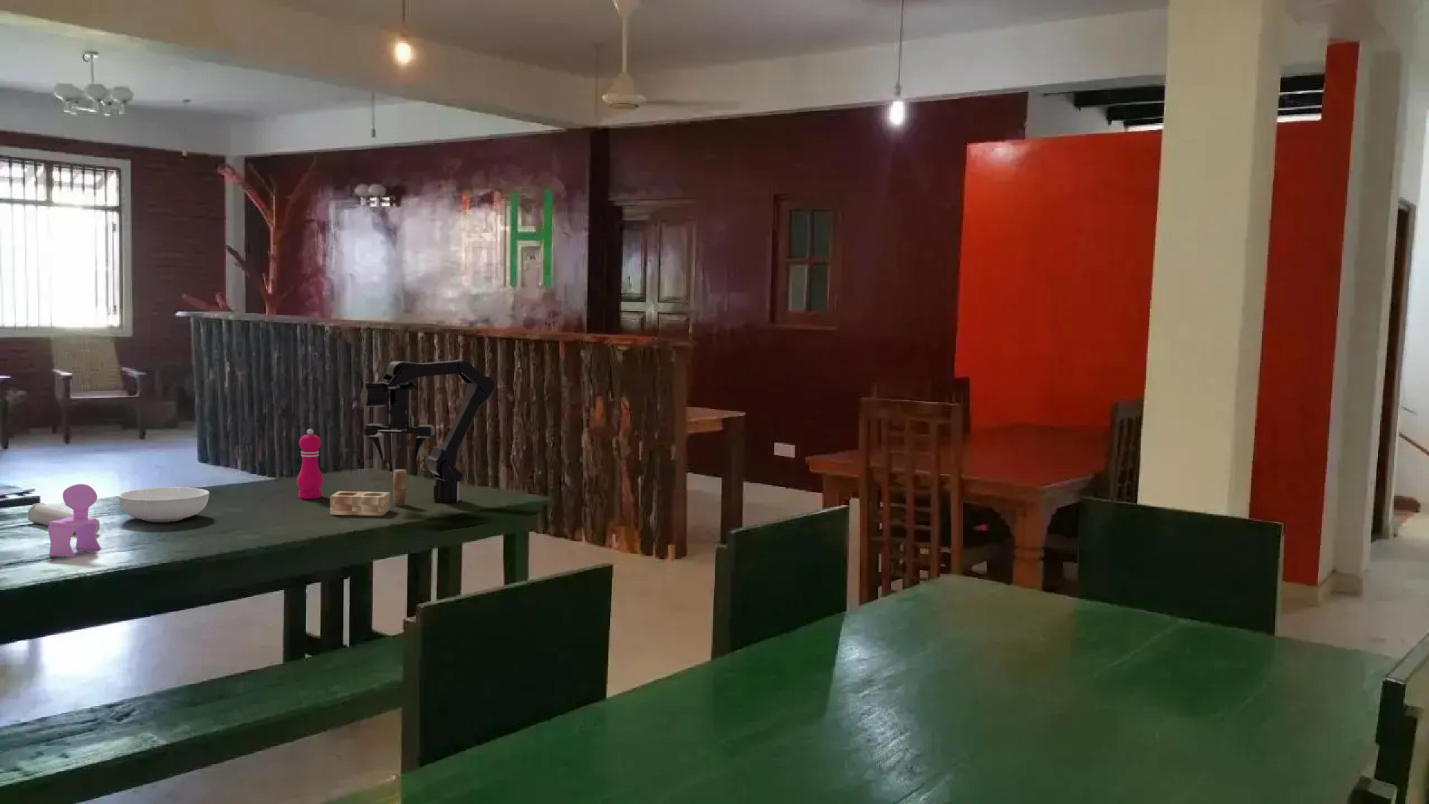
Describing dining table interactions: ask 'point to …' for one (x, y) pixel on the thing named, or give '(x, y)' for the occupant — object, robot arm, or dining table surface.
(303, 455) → the pepper mill
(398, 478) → the dowel
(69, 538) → the toy chair
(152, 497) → the serving bowl
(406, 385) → the robot arm
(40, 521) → the tube
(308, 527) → the dining table surface
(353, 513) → the bore block
